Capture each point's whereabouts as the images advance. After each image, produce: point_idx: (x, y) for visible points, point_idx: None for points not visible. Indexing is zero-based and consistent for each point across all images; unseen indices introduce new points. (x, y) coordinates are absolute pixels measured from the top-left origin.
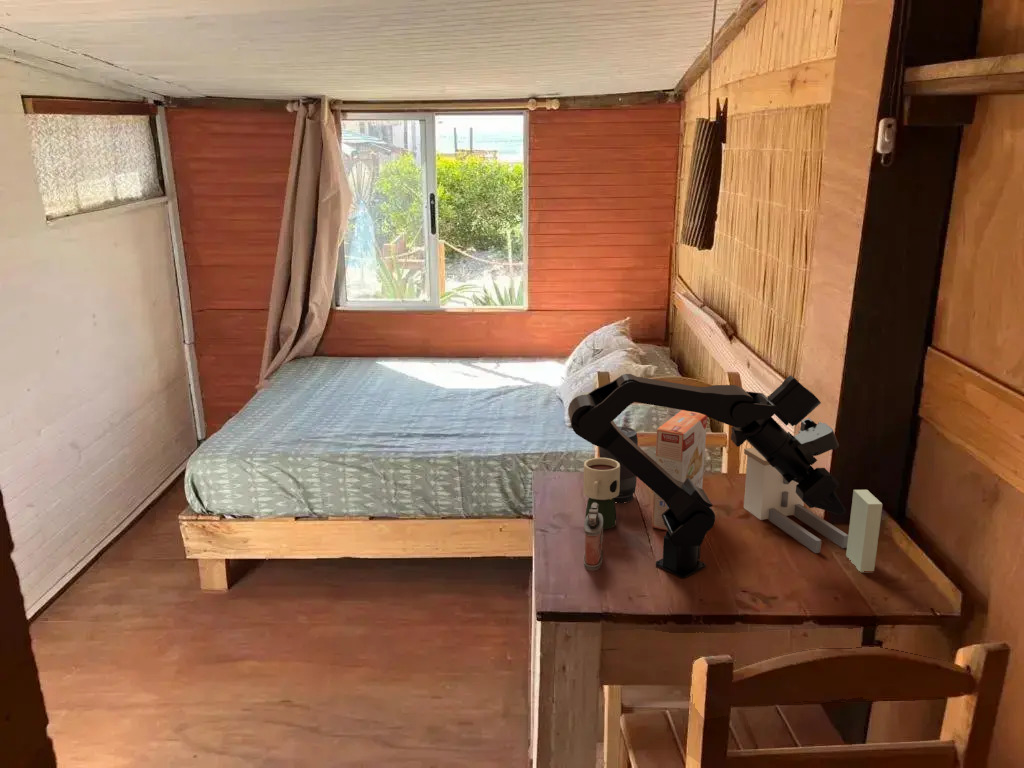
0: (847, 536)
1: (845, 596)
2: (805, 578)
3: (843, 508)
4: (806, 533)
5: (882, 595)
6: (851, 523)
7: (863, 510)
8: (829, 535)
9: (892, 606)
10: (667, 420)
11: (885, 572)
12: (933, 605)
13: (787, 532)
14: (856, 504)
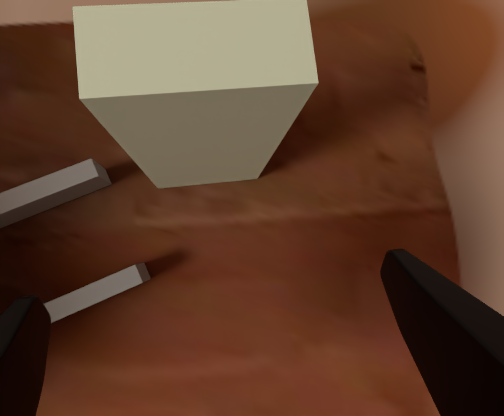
0: (93, 163)
1: None
2: (307, 343)
3: (429, 269)
4: (81, 306)
5: (370, 160)
6: (152, 159)
7: (256, 113)
8: (41, 208)
9: (418, 153)
10: None
11: None
12: (400, 57)
13: None
14: (162, 122)
